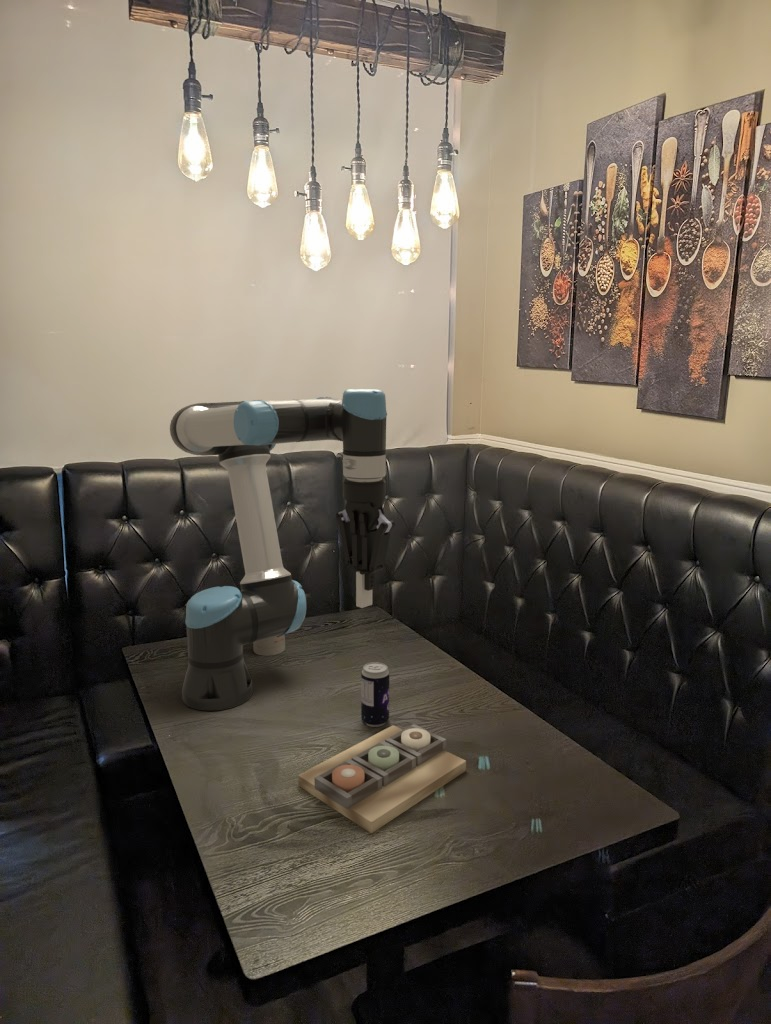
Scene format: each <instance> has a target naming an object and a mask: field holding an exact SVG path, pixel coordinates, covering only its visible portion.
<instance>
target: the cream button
mask: <svg viewBox="0 0 771 1024" xmlns="http://www.w3.org/2000/svg"><path fill="white" fill-rule="evenodd" d="M426 730H427V729H426ZM426 730H423V729H418V728H412V729H407V730H405V731H404V732H402V734H401V744H403V745H405V746H406V747H408V748H410V749H412V750H414V751H416V752H418V751H420V750H421V749H423V748H425V747H427V746H428V745H430V738H431V736H430V734H429V732H427V731H426Z"/></svg>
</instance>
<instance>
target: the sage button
mask: <svg viewBox="0 0 771 1024" xmlns="http://www.w3.org/2000/svg"><path fill="white" fill-rule="evenodd" d="M368 763H370V764H372V765H373V766H375V767H377V768H379V769H381V770H382V771H386V770H387V769H389V768H391V767H393V766H394V765H396V764H398V763H399V752H398V750H397V749H395V748H393V747H390V746H377V747H374V748H372V749H371V750H370V751H369V753H368Z"/></svg>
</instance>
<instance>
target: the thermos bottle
mask: <svg viewBox="0 0 771 1024" xmlns="http://www.w3.org/2000/svg"><path fill="white" fill-rule="evenodd" d="M285 635H286V634H285ZM285 635H283V636H275V637H272V638H268V639H264V640H260V641H257V642H253V643H252V645H253V647H252V649H253V652H254V654H256V655H258V656H266V657H267V656H276V655H279V654H281V653H283V652H284V651H285V650H286V636H285Z"/></svg>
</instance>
